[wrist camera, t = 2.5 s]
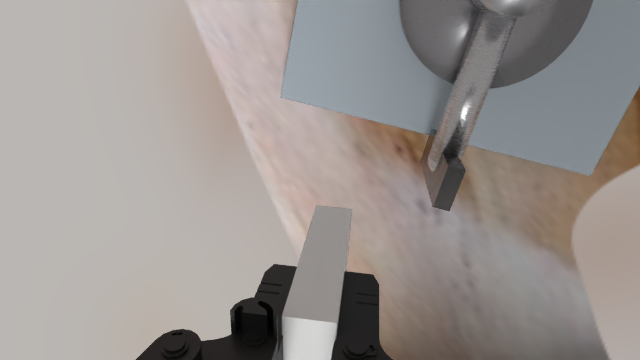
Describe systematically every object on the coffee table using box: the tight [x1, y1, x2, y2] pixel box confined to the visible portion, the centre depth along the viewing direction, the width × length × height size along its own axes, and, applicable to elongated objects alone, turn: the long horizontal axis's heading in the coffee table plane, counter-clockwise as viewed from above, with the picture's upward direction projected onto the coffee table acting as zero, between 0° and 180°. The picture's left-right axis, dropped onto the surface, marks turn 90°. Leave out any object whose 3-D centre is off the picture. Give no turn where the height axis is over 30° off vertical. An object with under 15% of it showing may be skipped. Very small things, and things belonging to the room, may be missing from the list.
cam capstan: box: [399, 0, 593, 211], centre depth 21 cm, size 20×10×7 cm, turn 168°
